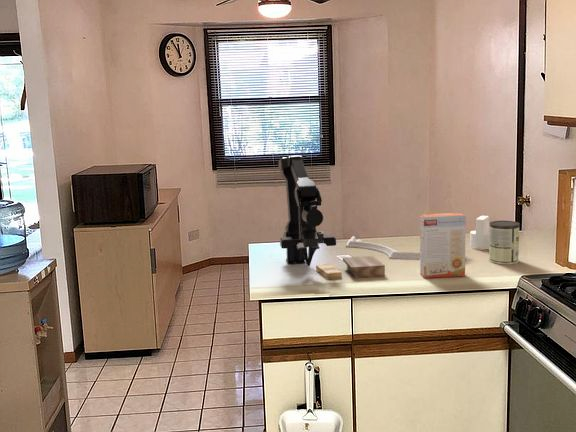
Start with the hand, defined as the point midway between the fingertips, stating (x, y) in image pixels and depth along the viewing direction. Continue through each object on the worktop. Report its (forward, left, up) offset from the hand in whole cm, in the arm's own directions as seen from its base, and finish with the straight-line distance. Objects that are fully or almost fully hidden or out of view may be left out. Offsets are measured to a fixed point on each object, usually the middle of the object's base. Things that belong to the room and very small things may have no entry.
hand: (308, 265), depth 211 cm
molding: (+35, +31, -4) cm, 47 cm away
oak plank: (+7, 0, -4) cm, 8 cm away
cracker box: (+44, -10, -4) cm, 45 cm away
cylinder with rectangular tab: (+74, +26, -4) cm, 79 cm away
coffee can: (+72, +3, -4) cm, 72 cm away
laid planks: (+20, 0, -3) cm, 20 cm away
